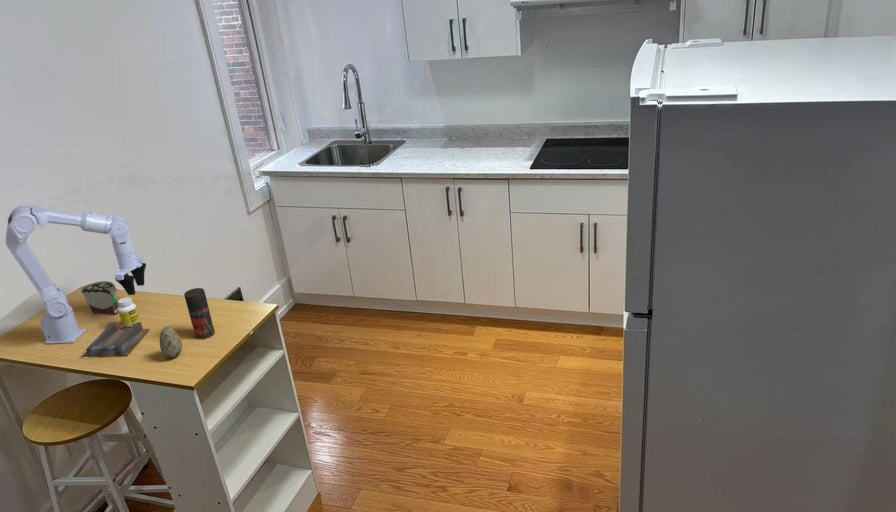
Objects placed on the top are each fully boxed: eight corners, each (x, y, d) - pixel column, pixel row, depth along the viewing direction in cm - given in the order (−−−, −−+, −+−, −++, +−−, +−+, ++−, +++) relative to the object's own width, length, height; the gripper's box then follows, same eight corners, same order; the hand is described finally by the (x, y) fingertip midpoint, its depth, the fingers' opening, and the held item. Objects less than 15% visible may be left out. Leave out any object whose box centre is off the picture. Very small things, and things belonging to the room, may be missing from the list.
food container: (131, 306, 230) (123, 281, 225) (119, 315, 224) (110, 289, 220) (100, 305, 232) (92, 279, 228) (88, 313, 227) (79, 288, 223)
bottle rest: (82, 358, 201) (79, 349, 199) (107, 332, 214) (104, 323, 213) (127, 356, 200) (124, 347, 198) (149, 330, 213) (146, 322, 212)
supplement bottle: (134, 330, 213) (126, 303, 210) (120, 330, 215) (111, 303, 211) (145, 322, 218) (136, 296, 215) (130, 322, 220) (122, 295, 216)
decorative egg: (176, 348, 202) (168, 320, 198) (188, 353, 199) (180, 325, 194) (159, 358, 197) (150, 329, 193) (171, 363, 194) (163, 334, 190)
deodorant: (191, 335, 208) (180, 293, 202) (209, 327, 212) (198, 286, 206) (201, 341, 205) (189, 298, 198) (218, 333, 209) (207, 291, 202)
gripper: (126, 261, 207) (138, 299, 213) (147, 243, 221) (157, 279, 226) (104, 262, 208) (116, 300, 213) (126, 244, 221) (137, 280, 227)
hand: (136, 289), depth 220 cm, fingers open, 6 cm apart
